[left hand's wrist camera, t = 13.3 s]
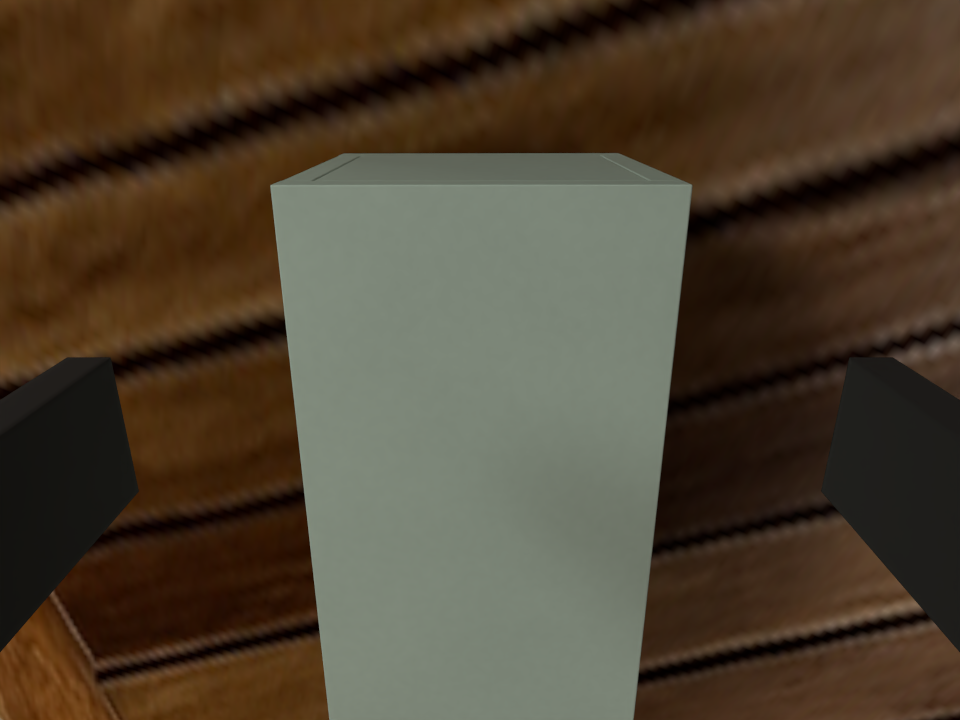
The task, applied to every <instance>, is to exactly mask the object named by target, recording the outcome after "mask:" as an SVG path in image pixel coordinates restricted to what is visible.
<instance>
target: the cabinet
mask: <svg viewBox="0 0 960 720" xmlns="http://www.w3.org/2000/svg"><path fill="white" fill-rule="evenodd" d="M691 194H692V185H691V184H689V183H687V182H684V181H682V180H680V179H677V178H675V177H673V176H670V175H668V174H666V173H663V172H661V171H659V170H656V169H654V168H652V167H649V166H647V165H645V164H642V163H640V162H638V161H635V160H633V159H631V158H628V157H626V156H624V155H621V154H619V153H400V154H342V155H339V156H338V157H336V158H333V159H331V160H329V161H326V162H324V163H322V164H320V165H317V166H315V167H313V168H311V169H308V170H306V171H304V172H301V173H299V174H297V175H295V176H292V177H290V178H288V179H285V180H283V181H279V182H277V183H275V184H272V185H271V195H272V204H273V213H274V222H275V231H276V240H277V250H278V259H279V268H280V277H281V286H282V295H283V304H284V313H285V322H286V331H287V340H288V349H289V358H290V367H291V376H292V385H293V394H294V403H295V412H296V421H297V430H298V439H299V448H300V457H301V466H302V475H303V484H304V493H305V503H306V512H307V521H308V530H309V539H310V548H311V557H312V566H313V575H314V584H315V593H316V602H317V611H318V620H319V629H320V638H321V647H322V656H323V665H324V674H325V683H326V692H327V701H328V710H329V719H330V720H633V719H634V710H635V701H636V692H637V683H638V674H639V665H640V656H641V647H642V638H643V629H644V620H645V611H646V602H647V593H648V584H649V575H650V565H651V556H652V547H653V538H654V529H655V520H656V511H657V502H658V493H659V484H660V475H661V466H662V457H663V448H664V439H665V430H666V421H667V412H668V403H669V393H670V384H671V375H672V366H673V357H674V348H675V339H676V330H677V321H678V312H679V303H680V294H681V285H682V276H683V267H684V258H685V249H686V240H687V230H688V221H689V212H690V203H691Z"/></svg>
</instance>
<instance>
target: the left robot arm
mask: <svg viewBox="0 0 960 720" xmlns="http://www.w3.org/2000/svg"><path fill="white" fill-rule="evenodd" d="M138 492H139V490H138V485H137V481H136V476H135V471H134V467H133V462H132V457H131V452H130V448H129V443H128V438H127V434H126V429H125V424H124V419H123V415H122V410H121V405H120V400H119V396H118V391H117V386H116V382H115V377H114V372H113V367H112V363H111V358H66V359H64V360H63V361H61V362H59V363H58V364H56V365H55V366H53V367H52V368H50V369H48V370H47V371H45V372H44V373H42V374H41V375H39V376H37V377H36V378H34V379H33V380H31V381H30V382H28V383H26V384H25V385H23V386H22V387H20V388H19V389H17V390H15V391H14V392H12V393H11V394H9V395H8V396H6V397H4V398H3V399H1V400H0V652H1V651H2V649H3V648H4V647H5V646H6V645H7V644H8V642H9V641H10V640H11V639H12V638H13V637H14V636H15V634H16V633H17V632H18V631H19V630H20V629H21V627H22V626H23V625H24V624H25V623H26V622H27V620H28V619H29V618H30V617H31V616H32V615H33V613H34V612H35V611H36V610H37V609H38V608H39V606H40V605H41V604H42V603H43V602H44V601H45V600H46V598H47V597H48V596H49V595H50V594H51V593H52V591H53V590H54V589H55V588H56V587H57V586H58V584H59V583H60V582H61V581H62V580H63V579H64V577H65V576H66V575H67V574H68V573H69V572H70V571H71V569H72V568H73V567H74V566H75V565H76V564H77V562H78V561H79V560H80V559H81V558H82V557H83V555H84V554H85V553H86V552H87V551H88V550H89V548H90V547H91V546H92V545H93V544H94V543H95V541H96V540H97V539H98V538H99V537H100V536H101V535H102V533H103V532H104V531H105V530H106V529H107V528H108V526H109V525H110V524H111V523H112V522H113V521H114V519H115V518H116V517H117V516H118V515H119V514H120V512H121V511H122V510H123V509H124V508H125V507H126V506H127V504H128V503H129V502H130V501H131V500H132V499H133V497H134V496H135V495H136V494H137V493H138ZM821 492H822V493H823V494H824V495H825V496H826V497H827V499H828V500H829V501H830V502H831V503H832V504H833V506H834V507H835V508H836V509H837V510H838V511H839V512H840V514H841V515H842V516H843V517H844V518H845V519H846V521H847V522H848V523H849V524H850V525H851V526H852V528H853V529H854V530H855V531H856V532H857V533H858V535H859V536H860V537H861V538H862V539H863V540H864V541H865V543H866V544H867V545H868V546H869V547H870V548H871V550H872V551H873V552H874V553H875V554H876V555H877V557H878V558H879V559H880V560H881V561H882V562H883V564H884V565H885V566H886V567H887V568H888V569H889V571H890V572H891V573H892V574H893V575H894V576H895V577H896V579H897V580H898V581H899V582H900V583H901V584H902V586H903V587H904V588H905V589H906V590H907V591H908V593H909V594H910V595H911V596H912V597H913V598H914V600H915V601H916V602H917V603H918V604H919V605H920V606H921V608H922V609H923V610H924V611H925V612H926V613H927V615H928V616H929V617H930V618H931V619H932V620H933V622H934V623H935V624H936V625H937V626H938V627H939V629H940V630H941V631H942V632H943V633H944V634H945V636H946V637H947V638H948V639H949V640H950V641H951V642H952V644H953V645H954V646H955V647H956V648H957V649H958V651H959V652H960V400H959V399H957V398H956V397H954V396H952V395H951V394H949V393H948V392H946V391H945V390H943V389H941V388H940V387H938V386H937V385H935V384H934V383H932V382H930V381H929V380H927V379H926V378H924V377H923V376H921V375H919V374H918V373H916V372H915V371H913V370H912V369H910V368H908V367H907V366H905V365H904V364H902V363H901V362H899V361H897V360H896V359H894V358H849V363H848V367H847V372H846V377H845V382H844V386H843V391H842V396H841V400H840V405H839V410H838V415H837V419H836V424H835V429H834V434H833V438H832V443H831V448H830V452H829V457H828V462H827V467H826V471H825V476H824V481H823V485H822V490H821Z"/></svg>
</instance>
